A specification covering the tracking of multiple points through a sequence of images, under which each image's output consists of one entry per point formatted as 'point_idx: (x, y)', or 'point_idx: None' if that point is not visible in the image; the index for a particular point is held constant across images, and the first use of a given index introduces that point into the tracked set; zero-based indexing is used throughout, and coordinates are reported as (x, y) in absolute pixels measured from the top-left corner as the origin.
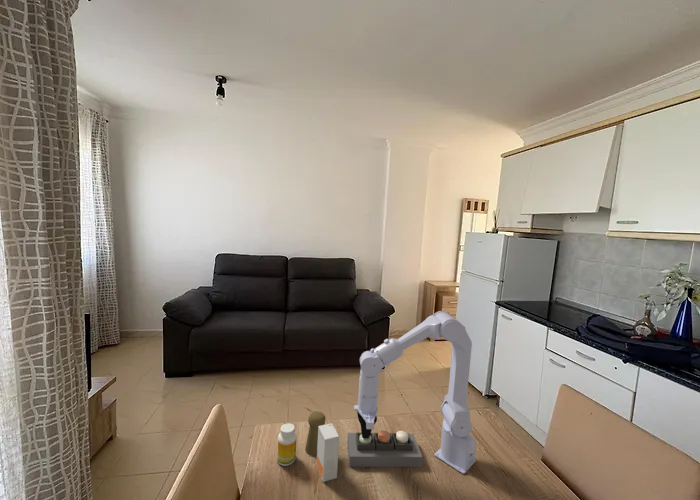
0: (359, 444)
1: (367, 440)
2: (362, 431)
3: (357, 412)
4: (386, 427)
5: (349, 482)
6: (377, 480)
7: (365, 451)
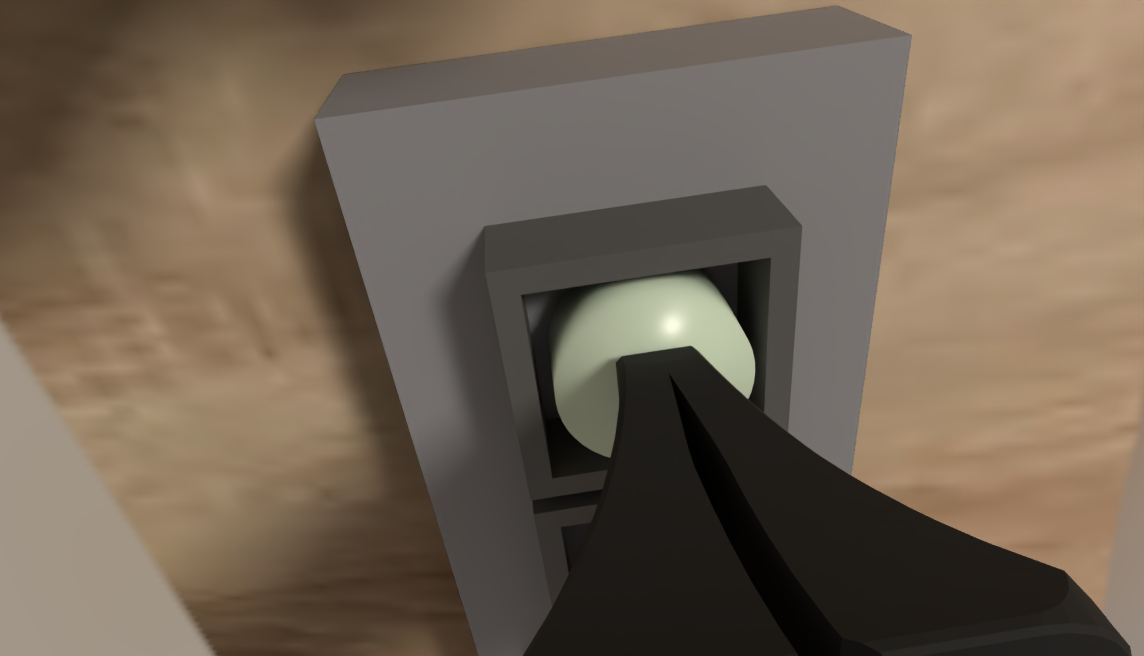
0: (494, 302)
1: (586, 418)
2: (616, 444)
3: (965, 646)
4: (1028, 456)
5: (65, 98)
6: (239, 399)
7: (486, 337)
